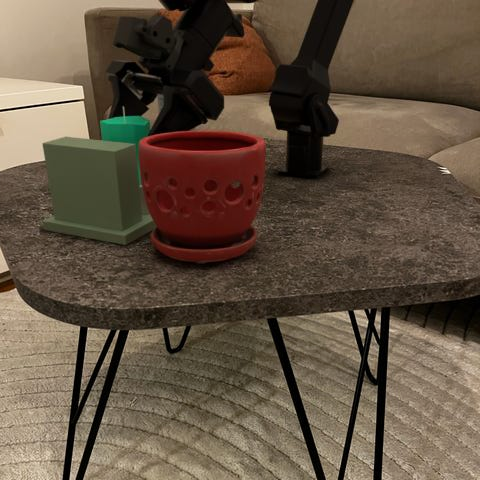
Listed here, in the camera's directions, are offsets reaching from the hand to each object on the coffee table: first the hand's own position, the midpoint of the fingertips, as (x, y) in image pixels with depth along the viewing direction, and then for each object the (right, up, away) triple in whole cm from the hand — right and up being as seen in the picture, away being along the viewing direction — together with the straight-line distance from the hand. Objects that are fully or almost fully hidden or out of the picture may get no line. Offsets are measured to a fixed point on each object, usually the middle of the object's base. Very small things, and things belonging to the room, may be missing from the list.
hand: (125, 144), depth 72 cm
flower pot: (+10, -14, -6) cm, 18 cm away
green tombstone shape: (0, -8, +4) cm, 9 cm away
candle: (0, -7, +4) cm, 8 cm away
